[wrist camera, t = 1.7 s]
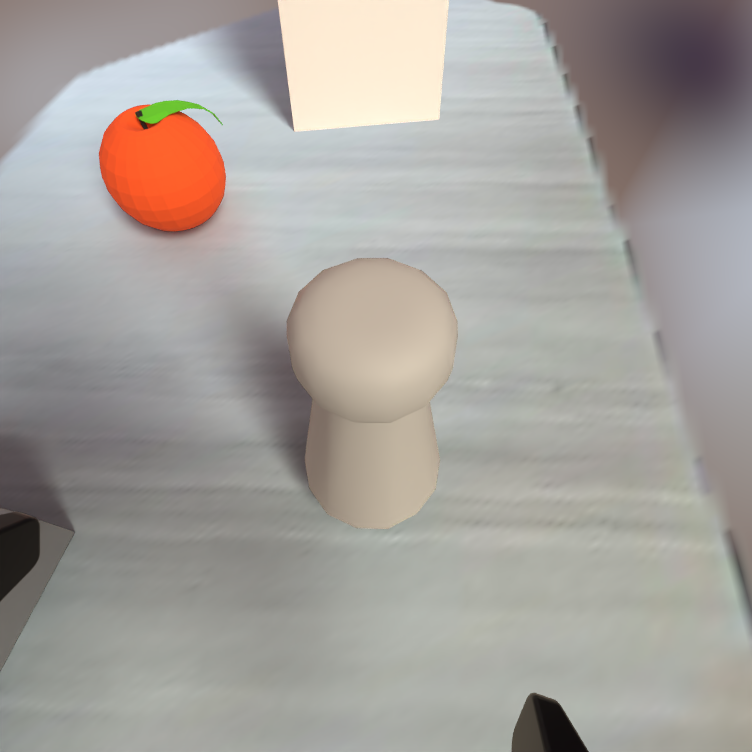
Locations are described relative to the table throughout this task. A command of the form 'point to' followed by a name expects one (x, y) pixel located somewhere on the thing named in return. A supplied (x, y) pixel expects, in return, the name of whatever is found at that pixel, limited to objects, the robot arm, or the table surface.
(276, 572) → the table surface
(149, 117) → the clementine
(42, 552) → the well block
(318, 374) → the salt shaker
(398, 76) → the milk
